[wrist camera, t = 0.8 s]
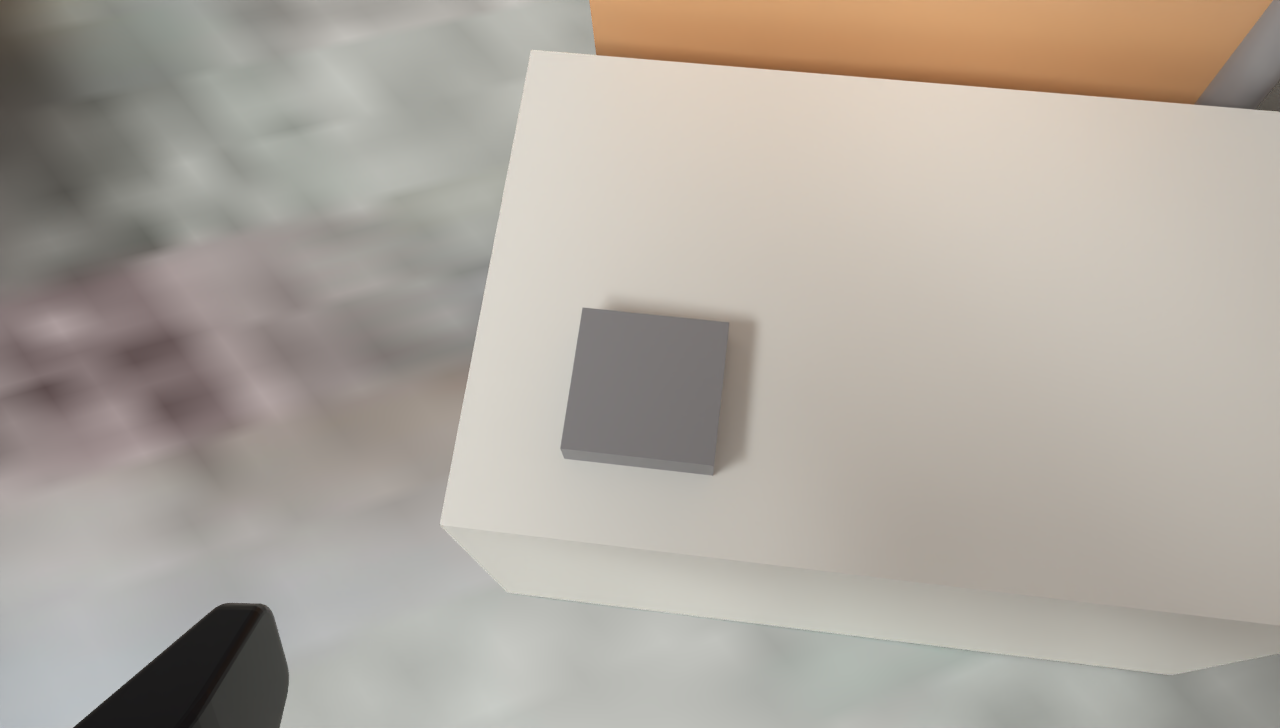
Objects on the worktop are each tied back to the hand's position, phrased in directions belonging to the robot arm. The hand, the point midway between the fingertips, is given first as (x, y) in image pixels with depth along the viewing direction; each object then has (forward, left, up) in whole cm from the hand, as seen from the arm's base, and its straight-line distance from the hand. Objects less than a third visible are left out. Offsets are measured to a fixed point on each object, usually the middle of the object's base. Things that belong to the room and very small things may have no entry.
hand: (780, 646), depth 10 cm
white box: (+5, -5, -14) cm, 16 cm away
